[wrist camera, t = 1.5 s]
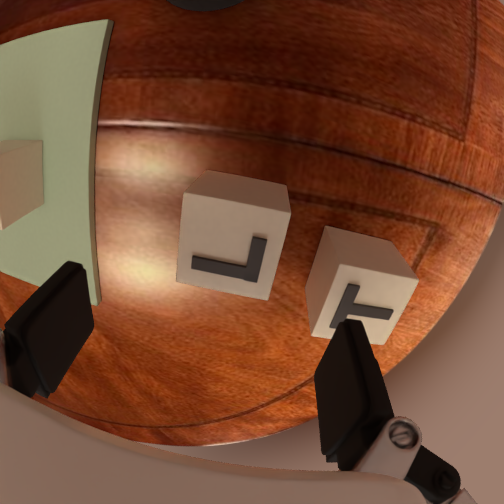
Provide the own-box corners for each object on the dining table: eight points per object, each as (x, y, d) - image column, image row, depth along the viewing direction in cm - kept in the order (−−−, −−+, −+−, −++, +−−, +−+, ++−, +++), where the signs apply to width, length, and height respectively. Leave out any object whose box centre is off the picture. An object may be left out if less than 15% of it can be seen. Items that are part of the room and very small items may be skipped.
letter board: (-40, 64, 12) (-46, 64, 12) (114, 21, 13) (108, 19, 12) (-31, 252, 23) (-35, 256, 22) (101, 300, 23) (97, 306, 22)
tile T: (325, 225, 19) (340, 265, 14) (391, 241, 19) (421, 282, 14) (304, 288, 21) (310, 338, 16) (366, 299, 21) (384, 347, 17)
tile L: (206, 169, 18) (182, 193, 13) (286, 185, 18) (291, 214, 13) (196, 241, 20) (174, 284, 15) (269, 256, 20) (267, 303, 15)
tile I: (4, 139, 16) (-42, 156, 11) (43, 140, 16) (-8, 156, 11) (7, 197, 18) (-35, 221, 14) (44, 204, 18) (0, 232, 14)
